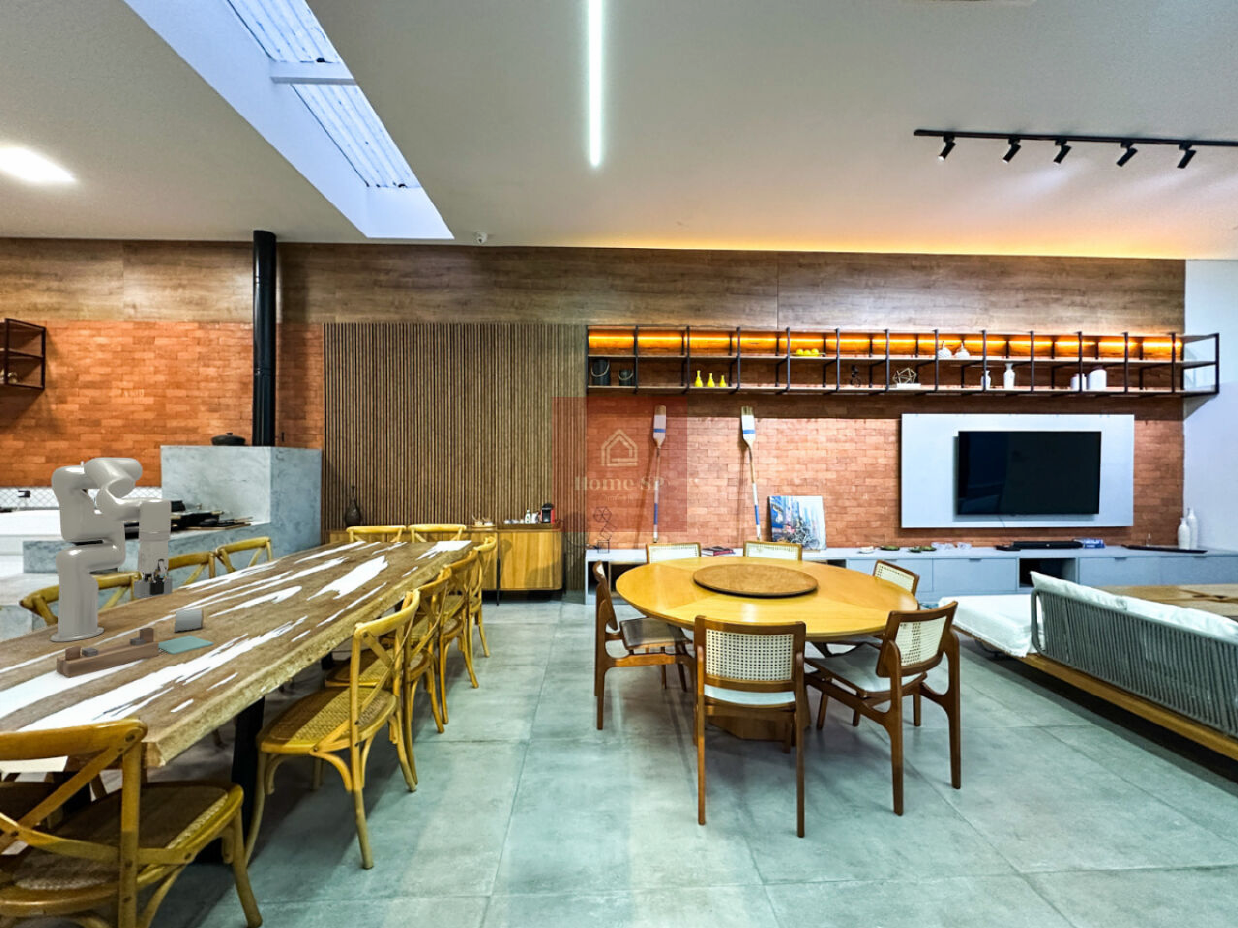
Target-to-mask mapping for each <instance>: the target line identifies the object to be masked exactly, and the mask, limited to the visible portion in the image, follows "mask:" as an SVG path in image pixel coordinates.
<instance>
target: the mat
mask: <svg viewBox="0 0 1238 928" xmlns="http://www.w3.org/2000/svg"><path fill="white" fill-rule="evenodd" d="M158 643H159V646H158V650H159V649H161V650H163V651H162V652H164V651H166V652H165V653H167V652H168V653H167V654H169V653H170V655H172V654H173V656H175V655H178V654H177V653H179V654H182V653H181V652H183V653H186V652H185V651H187V652H190V651H189V650H191V651H194V650H193V649H195V650H199V649H202V648H205V647H210V646H213V644H214V642H213V641H209V640H206V639H203V638H200V637H197V636H193V635H186V636H181V637H177V638H173V639H168V640H163V641H160V642H158ZM161 650H160V651H161ZM174 654H175V655H174Z"/></svg>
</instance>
